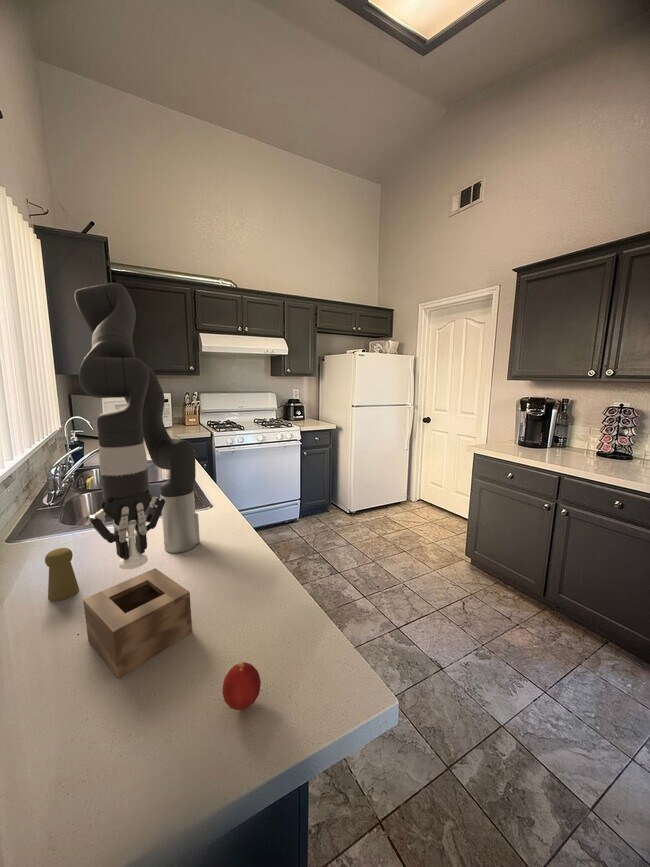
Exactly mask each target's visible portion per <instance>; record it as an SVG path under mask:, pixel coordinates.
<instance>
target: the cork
mask: <svg viewBox="0 0 650 867" xmlns="http://www.w3.org/2000/svg"><path fill="white" fill-rule="evenodd" d="M73 554H74V553H73V551H72V550H71V549H70V548H68V547H60V548H55V549H53V550H50V551H49V552H48V553H46V554H45V555H46V556H45V557H44V562H45V564H46V567H48V585H47V586H48V588H47V599H48V601H51V602H59V601H64V600H66V599H69V598H71V597H73V596H75V595H76V594H77V593H78V592H79V590H80V587H79V583H78V580H77V577H76V573H75V570H74V568H73V564H72V560H73Z"/></svg>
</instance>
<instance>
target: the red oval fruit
mask: <svg viewBox="0 0 650 867" xmlns="http://www.w3.org/2000/svg"><path fill="white" fill-rule="evenodd" d="M261 685H262V682H261V677H260V673H259V671H258V669H257V668H256V667H255V666H254V665H252V664H251V663H247V662H245V661H244V662H241V661H240V662H238V663H237V664H235V665H234V666H232V667H231V668H230V669H229V670H228V671H227V674H226V675H225V676H224V679H223V684H222V697H223V700H224V703H225V704H226V705H227V706H228V707H229V708H230V709H232V710H234V711H243V710H245V709H247V708H250V707H251V706H253V705H254V703H255V702H256V701H257V699H258V697H259V695H260V692H261Z"/></svg>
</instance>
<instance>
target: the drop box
mask: <svg viewBox="0 0 650 867" xmlns="http://www.w3.org/2000/svg"><path fill="white" fill-rule="evenodd" d="M190 593H191V592H190V591H189V590H188V589H186V588H184V587H183V586H182V585H180V584H179V583H178V582H176V581H174V579H172V578H170V577H169V576H167V575H166V574H164V573H163V572H162V571H160V570H159V569H157V568H152V569H150V570H148V571H146V572H143V573H141V574H138V575H136V576H135V577H134V576H133V577H131V578H129V579H127V580H124V581H122V582H120V583H118V584H115V585H113V586H111V587H108V588H106V589H104V590H102V591H99V592H97V593H94V594H92V595H90V596H88V597H87V596H86V597H85V598H83V599H82V603H83V610H84V616H85V617H84V618H85V626H86V634H87V642H88V643H90V645H91V646H92V647H93V649H94V650H95V651H96V652H97V654H98V655H99V656H100V658H101V659H102V660H103V661H104V663H105V664H106V665H107V666H108V667H109V669H110V668H111V669H110V670H111V671H112V672H113V674H114V675H115V677H118V679H119V678H121V677H123V676H124V675H126V674H128V673H129V672H132V671H133V670H134V669H136V668H137V667H139V666H141V665H142V664H143V663H146V662H147V661H149V660H150V659H151V658H153V657H155V656H156V655H158V654H160V653H162V652H163V651H164V650H166V649H169V647H171V646H173V645H174V644H176V643H177V642H179V641H180V640H182V639H184V638H185V637H187V636H189V635H190V634H192V633H193V621H192V608H191V606H192V605H191V595H190Z"/></svg>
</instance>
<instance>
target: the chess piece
mask: <svg viewBox="0 0 650 867" xmlns="http://www.w3.org/2000/svg"><path fill="white" fill-rule="evenodd" d="M135 526H136V522H135V521H132V520H131V521H129V522H128V529H127V530H126V539H128V540H127V541H128V550H129V559H127V560H124V559H122V558H120V560H119V562H118V568H119V569H121V570H133V569H137V568H141V567H142V566H144V565H146V563H147V562H148V561H149V560H148V558H149V557H148V555H147V554H146V553H142V554H140V553H139V552H138V551H137V548H136V542H135V537H136V536H137V535H138V534H137V533H136V531H135Z"/></svg>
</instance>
